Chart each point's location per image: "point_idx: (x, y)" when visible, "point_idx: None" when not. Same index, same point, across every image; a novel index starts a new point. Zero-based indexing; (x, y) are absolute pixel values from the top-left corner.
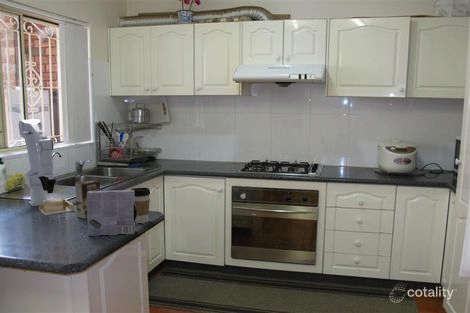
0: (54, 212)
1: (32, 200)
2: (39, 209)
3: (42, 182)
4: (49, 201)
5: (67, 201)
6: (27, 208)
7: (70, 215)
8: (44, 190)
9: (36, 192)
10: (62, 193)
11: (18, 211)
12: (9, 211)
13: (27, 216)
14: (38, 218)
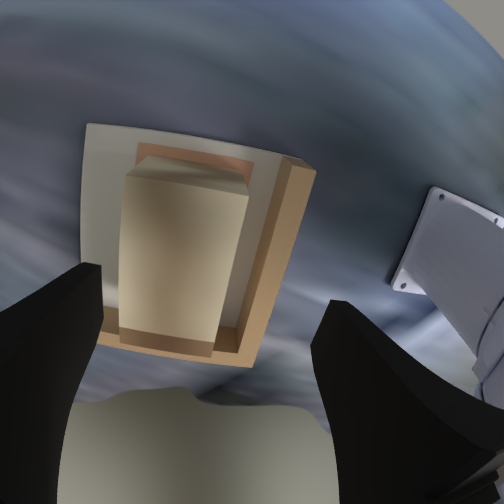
0: (93, 198)
1: (475, 216)
2: (293, 158)
3: (394, 394)
4: (154, 230)
5: (200, 357)
6: (420, 133)
7: (3, 248)
8: (328, 306)
9: (488, 267)
10: (466, 380)
11: (395, 47)
12: (438, 23)
13: (179, 10)
14: (57, 59)
